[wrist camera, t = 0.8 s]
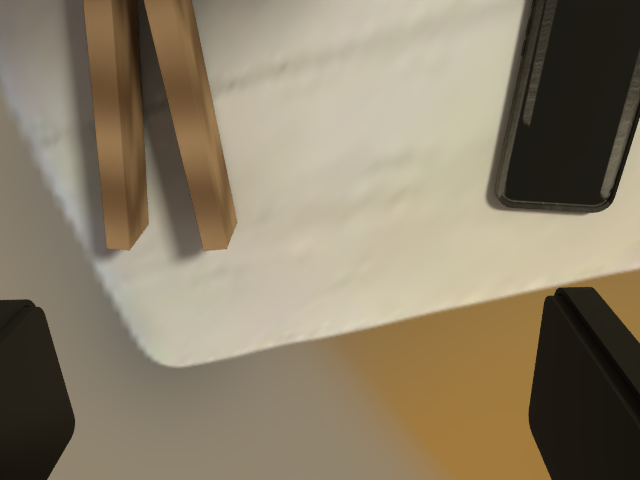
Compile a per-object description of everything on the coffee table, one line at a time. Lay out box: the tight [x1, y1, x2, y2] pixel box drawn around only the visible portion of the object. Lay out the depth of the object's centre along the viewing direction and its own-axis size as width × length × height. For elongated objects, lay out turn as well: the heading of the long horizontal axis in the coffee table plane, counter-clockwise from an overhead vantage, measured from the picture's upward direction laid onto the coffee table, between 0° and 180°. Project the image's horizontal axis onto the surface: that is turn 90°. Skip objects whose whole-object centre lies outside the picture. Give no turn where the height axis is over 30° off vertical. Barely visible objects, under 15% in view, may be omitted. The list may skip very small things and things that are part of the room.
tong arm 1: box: [83, 0, 149, 250], centre depth 34 cm, size 20×2×4 cm, turn 175°
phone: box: [495, 0, 640, 213], centre depth 35 cm, size 8×1×15 cm
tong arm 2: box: [144, 0, 237, 251], centre depth 34 cm, size 20×2×4 cm, turn 7°
